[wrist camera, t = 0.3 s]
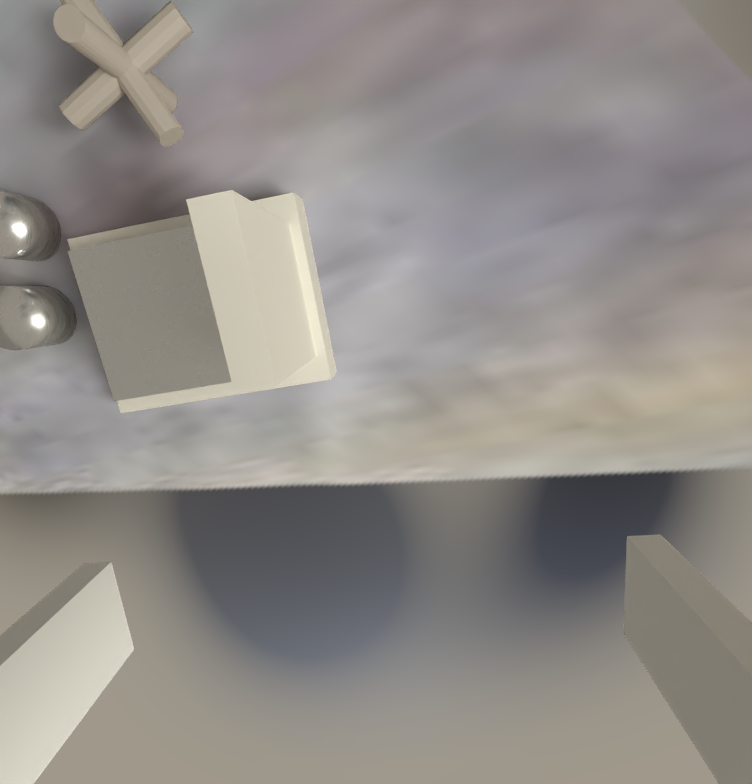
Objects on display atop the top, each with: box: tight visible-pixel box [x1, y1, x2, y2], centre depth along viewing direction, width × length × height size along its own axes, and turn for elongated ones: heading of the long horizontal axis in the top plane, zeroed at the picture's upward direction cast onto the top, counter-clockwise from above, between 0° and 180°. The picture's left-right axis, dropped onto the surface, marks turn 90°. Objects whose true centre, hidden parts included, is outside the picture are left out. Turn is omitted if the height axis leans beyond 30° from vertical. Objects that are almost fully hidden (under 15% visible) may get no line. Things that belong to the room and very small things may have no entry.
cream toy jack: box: [53, 0, 193, 146], centre depth 29 cm, size 10×10×10 cm
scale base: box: [67, 190, 337, 413], centre depth 30 cm, size 14×18×14 cm
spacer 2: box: [0, 286, 77, 350], centre depth 36 cm, size 5×5×4 cm
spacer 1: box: [0, 190, 61, 261], centre depth 35 cm, size 5×5×4 cm
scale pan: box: [67, 225, 232, 401], centre depth 32 cm, size 11×11×1 cm
